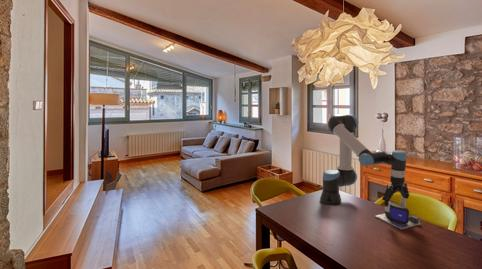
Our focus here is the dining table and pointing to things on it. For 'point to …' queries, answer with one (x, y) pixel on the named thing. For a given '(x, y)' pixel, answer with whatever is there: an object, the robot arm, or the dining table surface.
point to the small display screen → (398, 213)
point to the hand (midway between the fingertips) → (395, 209)
